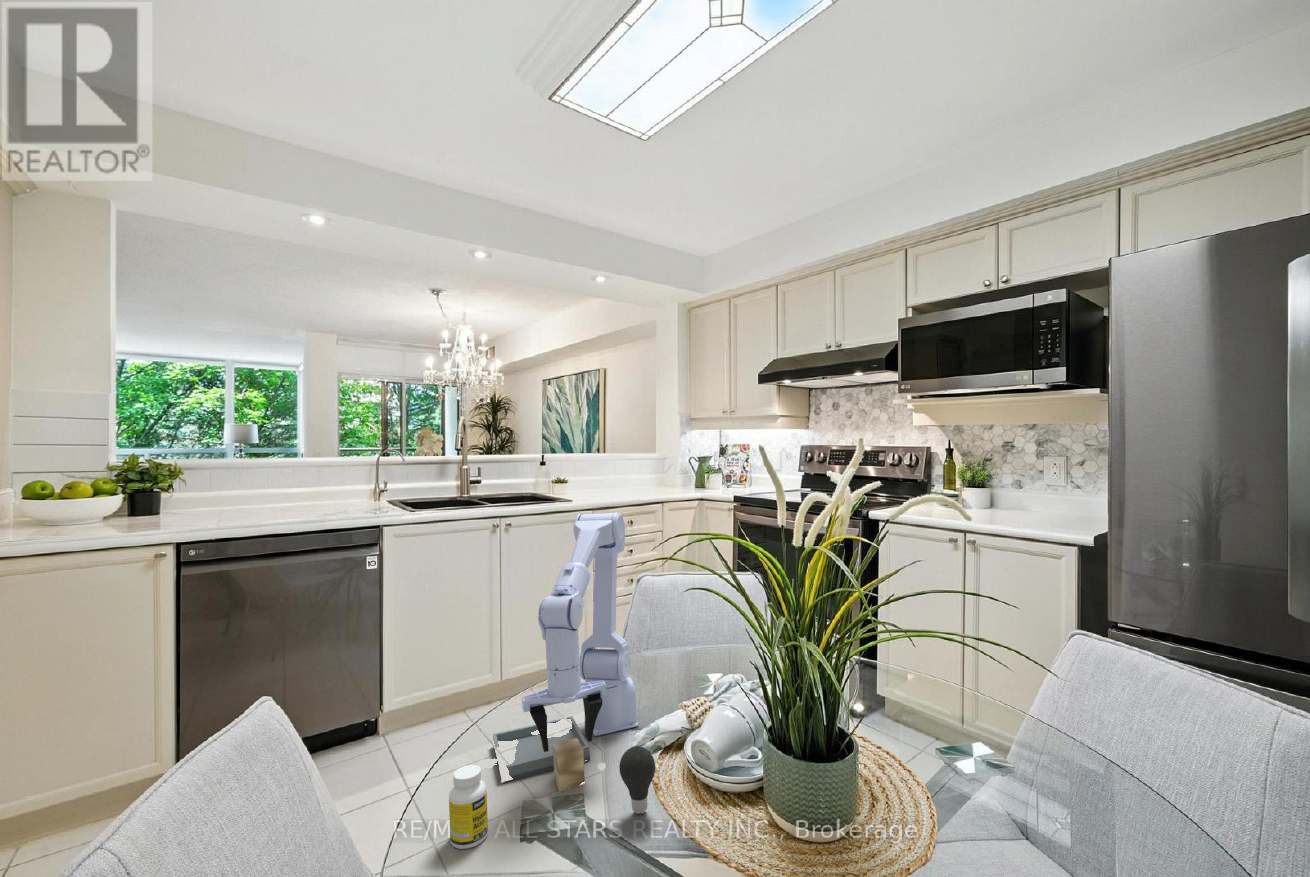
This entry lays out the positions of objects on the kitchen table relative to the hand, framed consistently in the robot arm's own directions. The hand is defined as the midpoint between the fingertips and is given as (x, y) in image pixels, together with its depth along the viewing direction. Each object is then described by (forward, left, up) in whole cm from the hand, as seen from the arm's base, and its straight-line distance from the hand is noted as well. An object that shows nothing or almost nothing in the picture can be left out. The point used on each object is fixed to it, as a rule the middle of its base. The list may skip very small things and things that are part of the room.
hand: (567, 743), depth 99 cm
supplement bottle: (+17, +8, -7) cm, 20 cm away
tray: (+3, -12, -6) cm, 14 cm away
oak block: (0, 0, -7) cm, 7 cm away
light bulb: (-8, +14, -7) cm, 17 cm away
